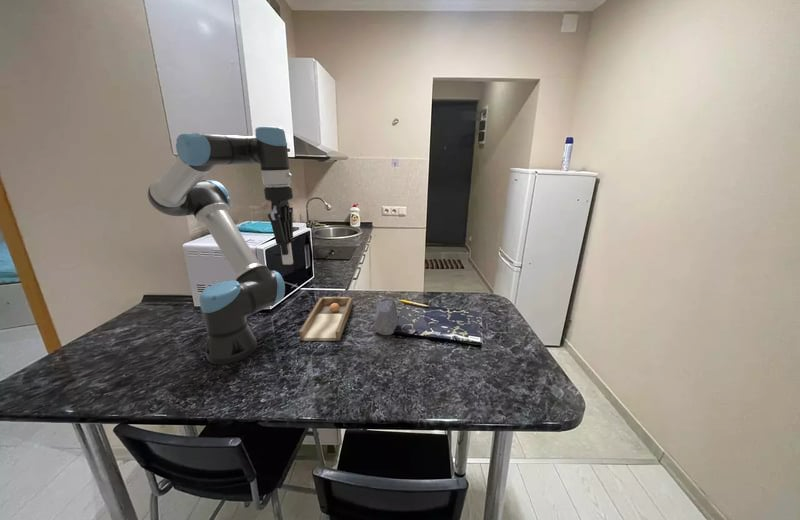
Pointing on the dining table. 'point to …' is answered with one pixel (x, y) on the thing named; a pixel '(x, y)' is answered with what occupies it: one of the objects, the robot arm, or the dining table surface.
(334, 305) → the ball
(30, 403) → the dining table surface
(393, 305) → the stone
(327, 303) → the tray
